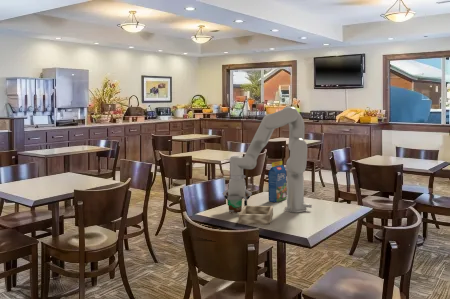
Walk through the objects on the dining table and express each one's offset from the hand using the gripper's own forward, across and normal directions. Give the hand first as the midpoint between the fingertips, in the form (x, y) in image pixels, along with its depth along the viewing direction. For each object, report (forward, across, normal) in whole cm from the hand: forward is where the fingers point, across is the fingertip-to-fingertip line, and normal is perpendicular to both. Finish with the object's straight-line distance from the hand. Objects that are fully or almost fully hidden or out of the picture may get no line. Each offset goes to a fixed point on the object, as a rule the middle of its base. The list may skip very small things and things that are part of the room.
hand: (237, 206), depth 252 cm
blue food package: (+3, -21, -31) cm, 38 cm away
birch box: (+3, -13, +16) cm, 21 cm away
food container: (+3, 0, 0) cm, 3 cm away
